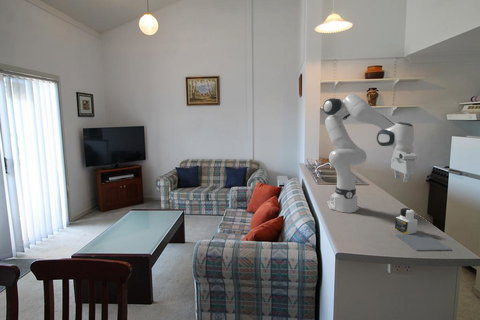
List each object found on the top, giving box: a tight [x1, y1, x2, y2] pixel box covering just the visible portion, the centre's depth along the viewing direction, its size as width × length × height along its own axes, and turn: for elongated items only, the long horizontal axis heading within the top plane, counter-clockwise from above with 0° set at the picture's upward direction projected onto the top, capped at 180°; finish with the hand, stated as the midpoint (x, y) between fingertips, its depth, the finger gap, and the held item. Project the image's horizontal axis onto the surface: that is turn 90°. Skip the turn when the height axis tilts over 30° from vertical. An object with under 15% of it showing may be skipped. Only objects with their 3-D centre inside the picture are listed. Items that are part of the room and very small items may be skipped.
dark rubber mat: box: [395, 233, 452, 252], centre depth 134 cm, size 16×16×1 cm
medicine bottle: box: [394, 207, 419, 235], centre depth 146 cm, size 7×7×12 cm
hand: (401, 180), depth 148 cm, fingers open, 8 cm apart
